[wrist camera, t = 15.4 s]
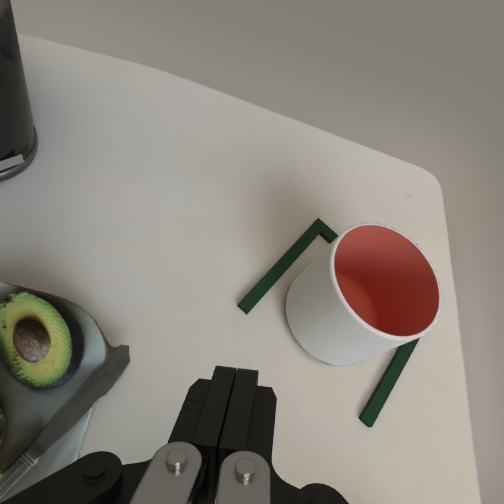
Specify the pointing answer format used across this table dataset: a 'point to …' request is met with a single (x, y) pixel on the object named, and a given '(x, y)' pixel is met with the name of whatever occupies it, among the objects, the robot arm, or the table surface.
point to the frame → (277, 271)
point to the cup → (363, 296)
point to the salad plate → (47, 383)
